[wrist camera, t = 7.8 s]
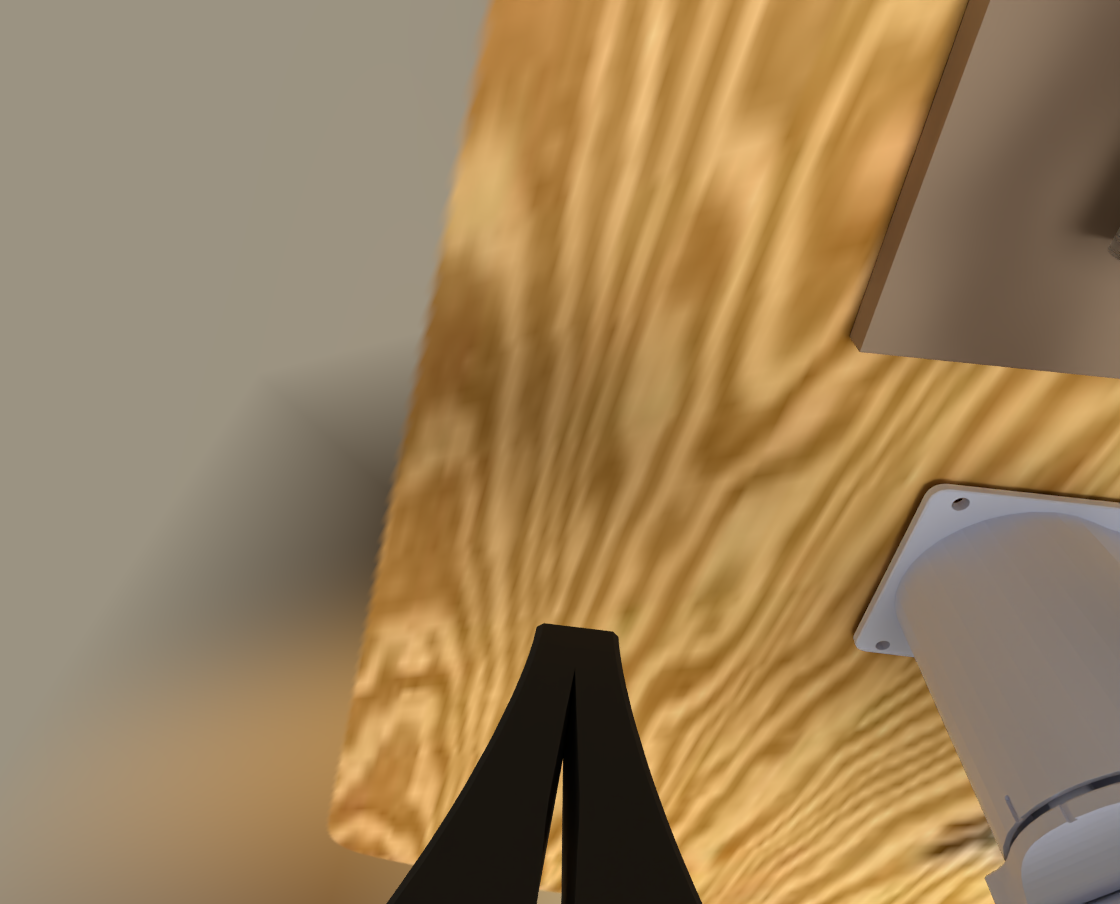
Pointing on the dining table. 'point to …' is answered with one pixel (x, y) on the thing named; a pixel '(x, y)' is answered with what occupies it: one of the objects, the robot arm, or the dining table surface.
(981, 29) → the board
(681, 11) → the dining table surface
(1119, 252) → the roller
